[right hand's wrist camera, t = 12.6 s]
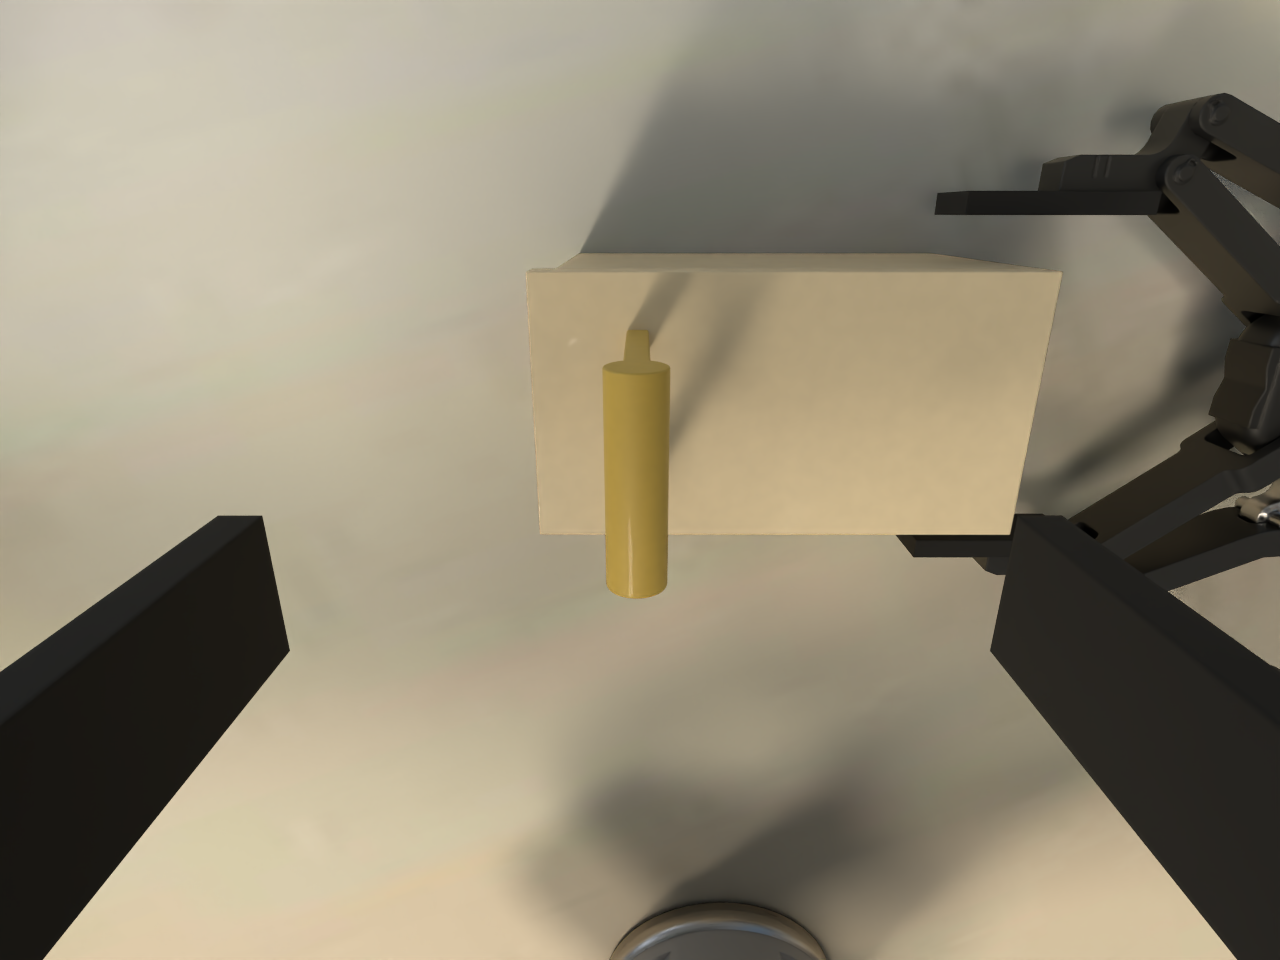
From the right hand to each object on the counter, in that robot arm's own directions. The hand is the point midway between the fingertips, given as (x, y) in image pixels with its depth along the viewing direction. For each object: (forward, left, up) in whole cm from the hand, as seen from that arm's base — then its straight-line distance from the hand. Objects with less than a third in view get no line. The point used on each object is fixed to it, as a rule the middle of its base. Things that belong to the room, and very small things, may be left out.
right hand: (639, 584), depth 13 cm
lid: (+2, -4, -13) cm, 14 cm away
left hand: (+6, -9, -16) cm, 19 cm away
